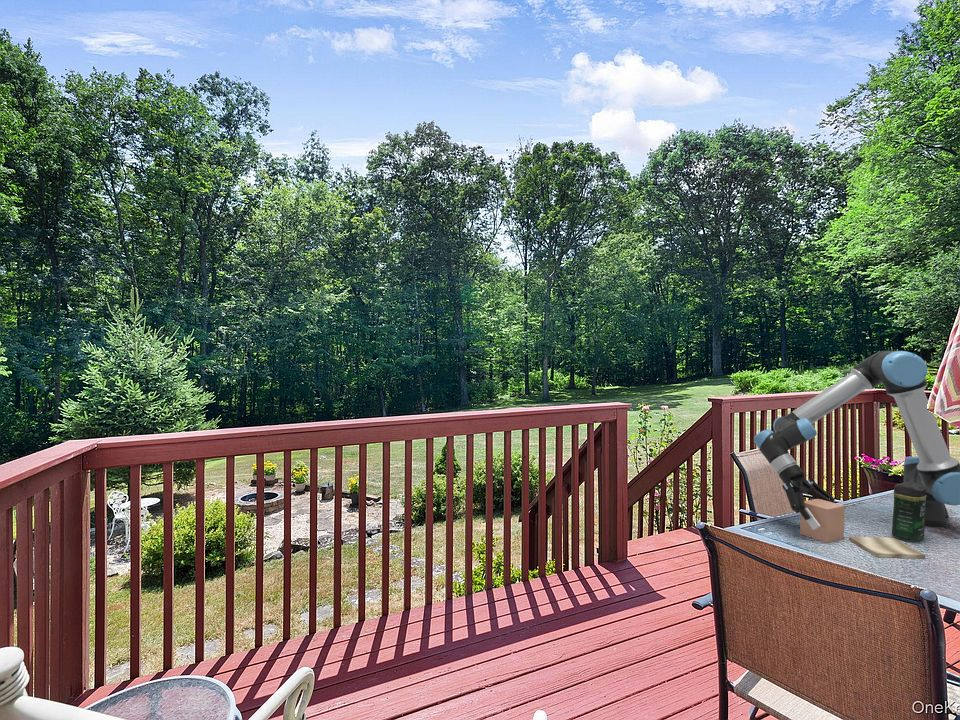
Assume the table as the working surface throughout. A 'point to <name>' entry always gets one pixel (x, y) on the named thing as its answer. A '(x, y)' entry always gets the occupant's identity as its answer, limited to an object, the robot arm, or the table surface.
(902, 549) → the pad
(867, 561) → the table surface
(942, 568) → the table surface
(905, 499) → the coffee jar
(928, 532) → the table surface
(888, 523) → the table surface
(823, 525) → the cover
